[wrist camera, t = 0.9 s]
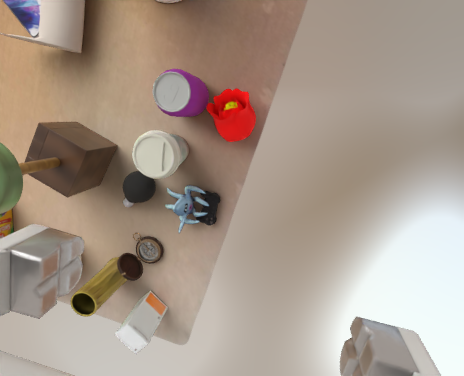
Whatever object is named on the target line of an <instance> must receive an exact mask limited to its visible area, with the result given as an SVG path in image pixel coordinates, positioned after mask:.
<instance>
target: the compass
mask: <svg viewBox="0 0 464 376" xmlns="http://www.w3.org/2000/svg"><path fill="white" fill-rule="evenodd" d="M135 234H139V233H135ZM135 234H134V235H135ZM134 235H133V238H134ZM139 235H140V234H139ZM140 237H141V235H140ZM134 239H135V238H134ZM135 240H136V239H135ZM136 241H139V242H138V243H137V245H136V253H137V255H138V256H137V257H136V256H135V255H133V254H130V253H125V254H123V255H121V256H120V257H119V259H118V260H117V268H118V270H119V272H120V274H121V275H122V276H123V277H124V278H126V279H127V280H131V281H134V280H137V279H138V278H140V277H141V276H142V273H143V266H142V264H141V260H142V261H144V262H146V263H155V262H157V261H159V260H160V258H161V257H162V255H163V247H162V245H161V243H160V242H159V241H158V240H157V239H155V238H153V237H144V238H142V239H141V238H138V240H136ZM140 259H141V260H140Z"/></svg>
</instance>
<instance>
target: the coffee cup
mask: <svg viewBox="0 0 464 376" xmlns="http://www.w3.org/2000/svg"><path fill="white" fill-rule="evenodd" d="M188 153H189V147H188V144H187V142H186V141H185V140H184V139H183V138H182V137H180V136H177V135H173V134H168V133H166V132H164V131H160V130H151V131H148V132H146V133H144V134H142V135H141V136H140V137H139V138H138V139H137V141H136V142H135V145H134V147H133V151H132V157H133V162H134V164H135V166H136V168H137V169H138V170H139V171H140V172H141V173H142V174H144V175H146V176H147V177H150V178H153V179H163V178H167V177H169V176H171V175H172V174H173V173H174V172H175V171H176V170H177V168H178V167H179V165H180V164H181V163H182V162H183V161H184V160H185V159H186V158H187V156H188Z"/></svg>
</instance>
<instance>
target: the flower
mask: <svg viewBox="0 0 464 376" xmlns="http://www.w3.org/2000/svg"><path fill="white" fill-rule="evenodd" d="M214 103H215V104H213V103H208V104H207V111H208V112H209V114H210V115H212V116H213V118H214V123H215V126H216V129H217V131H218V132H219V134H220V135H221V136H222V137H223V138H224V139H225V140H226V141H229V142H233V141H239V140H242V139H245V138H247V137H248V136H249V135H250V134H251V132H252V131H253V128H254V126H255V122H256V115H255V112H254V110H253V108H252V106H251V105H250V102H249V93H248V92H242V91H240V90H239V89H237V88H236V89H234V90H233V91H232V90H231V89H226V90H225V91H223V92H222V93H221V94H220V95H219V96H214Z"/></svg>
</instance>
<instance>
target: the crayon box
mask: <svg viewBox="0 0 464 376" xmlns="http://www.w3.org/2000/svg"><path fill="white" fill-rule="evenodd" d="M12 233H14V230H13V218H12V209H10V210H9V211H7V212H4V213H2V214H0V239H1V238H3V237H5V236H7V235H10V234H12Z"/></svg>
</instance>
